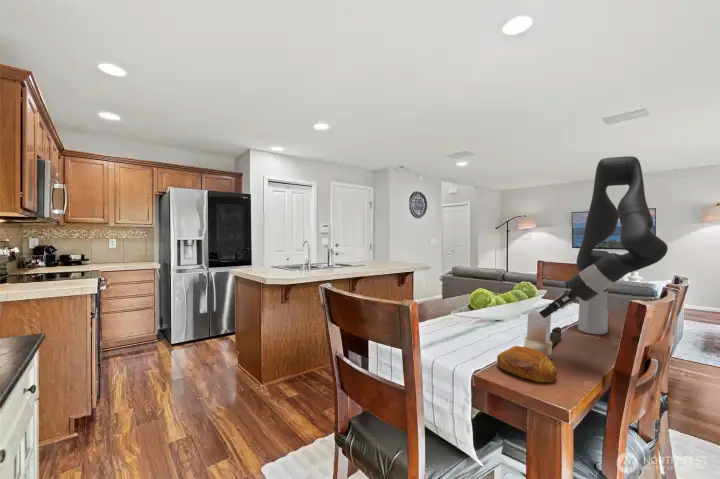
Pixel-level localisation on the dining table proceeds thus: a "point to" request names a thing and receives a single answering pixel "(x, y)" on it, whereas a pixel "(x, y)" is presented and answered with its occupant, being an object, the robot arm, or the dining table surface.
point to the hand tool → (555, 335)
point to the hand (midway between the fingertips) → (545, 312)
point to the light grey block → (538, 328)
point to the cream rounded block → (539, 347)
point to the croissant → (527, 364)
